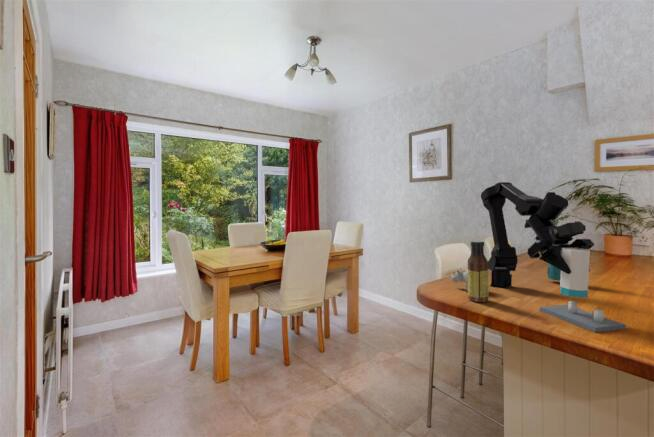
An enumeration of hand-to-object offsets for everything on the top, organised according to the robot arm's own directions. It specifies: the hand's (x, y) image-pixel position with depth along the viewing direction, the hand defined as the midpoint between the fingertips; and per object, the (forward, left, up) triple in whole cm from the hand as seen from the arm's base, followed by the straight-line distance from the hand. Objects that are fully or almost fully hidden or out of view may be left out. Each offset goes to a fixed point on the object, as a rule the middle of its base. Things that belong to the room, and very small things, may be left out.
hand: (579, 272), depth 88 cm
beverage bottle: (-2, +45, -13) cm, 47 cm away
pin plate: (0, -1, -13) cm, 13 cm away
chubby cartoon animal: (-31, +15, -13) cm, 37 cm away
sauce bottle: (-26, +3, -13) cm, 29 cm away
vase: (-1, +1, -7) cm, 7 cm away
